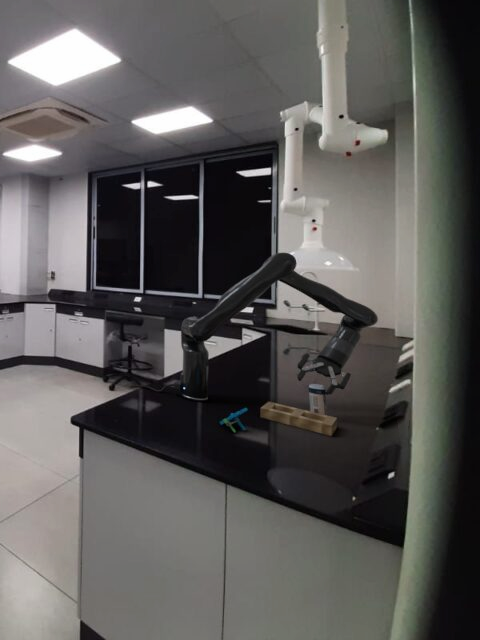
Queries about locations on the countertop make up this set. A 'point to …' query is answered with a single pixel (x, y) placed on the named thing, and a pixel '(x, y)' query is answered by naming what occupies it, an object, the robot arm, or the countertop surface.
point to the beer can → (317, 399)
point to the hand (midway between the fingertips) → (312, 386)
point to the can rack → (299, 418)
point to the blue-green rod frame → (235, 418)
